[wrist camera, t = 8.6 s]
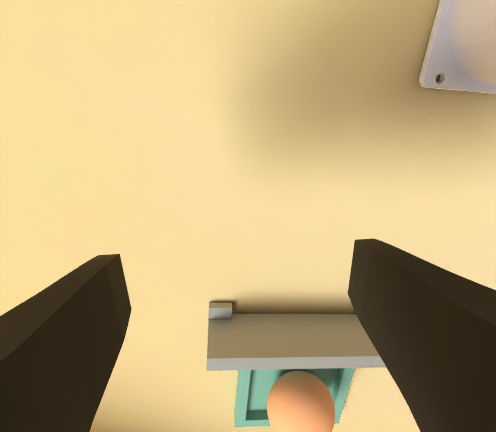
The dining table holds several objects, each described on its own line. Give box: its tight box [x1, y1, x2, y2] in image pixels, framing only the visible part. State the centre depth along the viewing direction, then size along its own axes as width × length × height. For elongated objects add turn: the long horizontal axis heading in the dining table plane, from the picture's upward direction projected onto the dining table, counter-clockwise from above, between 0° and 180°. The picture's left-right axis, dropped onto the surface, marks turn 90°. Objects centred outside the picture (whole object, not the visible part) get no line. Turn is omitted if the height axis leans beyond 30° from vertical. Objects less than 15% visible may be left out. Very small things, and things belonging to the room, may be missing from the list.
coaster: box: [235, 368, 354, 427], centre depth 25 cm, size 9×9×1 cm
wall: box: [207, 302, 386, 371], centre depth 22 cm, size 14×3×4 cm, turn 86°
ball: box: [267, 371, 335, 432], centre depth 23 cm, size 5×5×5 cm
